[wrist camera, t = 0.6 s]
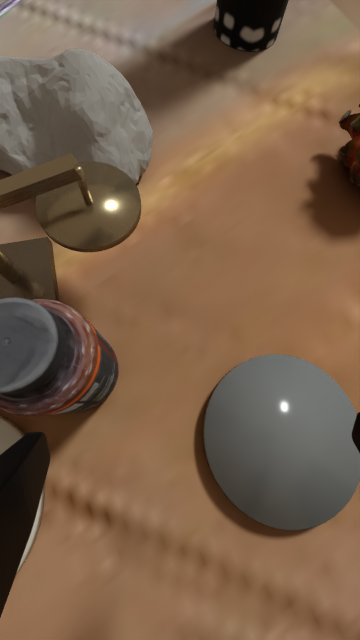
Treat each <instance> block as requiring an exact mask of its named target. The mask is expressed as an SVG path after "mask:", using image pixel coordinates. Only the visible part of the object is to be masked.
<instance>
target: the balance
mask: <svg viewBox="0 0 360 640" xmlns="http://www.w3.org/2000/svg"><path fill="white" fill-rule="evenodd" d="M35 196H36V201H35V211H36V215H37V218H38V221H39V222H40V224H41V226H42V227H43V229H44V231H45V232H46V233H47V235H48V236H49V237H50V238H51V239H52V240H53V241H55V242H56V243H58V244H59V245H61V246H63V247H65V248H68V249H70V250H74V251H79V252H98V251H103V250H106V249H109V248H112V247H114V246H116V245H118V244H120V243H121V242H123V241H124V240H125V239H127V238H128V237H129V236H130V235H131V234H132V233H133V231H134V230H135V228H136V226H137V224H138V222H139V219H140V215H141V200H140V194H139V191H138V188H137V186H136V184H135V183H134V181H133V180H132V179H131V178H130V177H129V176H128V175H127V174H126V173H125V172H124V171H122V170H120V169H119V168H117V167H115V166H113V165H110V164H107V163H102V162H96V161H84V162H78V161H77V160H76V158H75V157H74V156H73V154H72V153H71V154H68V155H65V156H63V157H60V158H57V159H55V160H52V161H49V162H47V163H44V164H41V165H39V166H36V167H33V168H31V169H28V170H25V171H23V172H20V173H17V174H15V175H12V176H9V177H7V178H4V179H1V180H0V209H1V208H4V207H7V206H10V205H13V204H15V203H18V202H21V201H24V200H26V199H29V198H32V197H35ZM14 297H16V298H24V299H29V300H36V299H47V300H54V301H58V302H59V296H58V288H57V280H56V272H55V264H54V255H53V247H52V243H51V241H50V240H49V238H48V237H45V238H39V239H33V240H26V241H20V242H13V243H7V244H1V245H0V299H4V298H14Z"/></svg>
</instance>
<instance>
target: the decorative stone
mask: <svg viewBox="0 0 360 640" xmlns="http://www.w3.org/2000/svg"><path fill="white" fill-rule="evenodd" d="M152 140H153V131H152V128H151V126H150V124H149V121H148V118H147V115H146V113H145V111H144V109H143V107H142V105H141V103H140V101H139V100H138V98H137V96H136V95H135V93H134V91H133V89H132V88H131V86H130V84H129V83H128V81H127V80H126V79H125V78H124V77H123V75H122V74H121V73H120V72H119V71H118V70H117V69H116V68H114V67H113V66H112V65H111V64H110V63H108V62H107V61H105V60H104V59H103V58H101V57H99V56H98V55H97V54H95V53H92V52H90V51H88V50H84V49H70V50H66V51H64V52H63V53H61V54H60V55H57V56H54V57H51V58H23V57H7V56H0V170H3V171H5V172H8V173H10V174H11V175H15V174H17V173H20V172H23V171H25V170H28V169H31V168H33V167H36V166H39V165H41V164H44V163H47V162H49V161H52V160H55V159H57V158H60V157H63V156H65V155H68V154H71V153H72V154H73V156H74V157H75V158H76V160H77V161H78V162H84V161H96V162H102V163H107V164H110V165H113V166H115V167H117V168H119V169H120V170H122V171H124V172H125V173H126V174H127V175H128V176H129V177H130V178H131V179H132V180H133V181H134V183H135V184H136V183H137V182H138V179H139V177H140V176H141V175H142V174H143V173H144V172H145V171H146V168H147V166H148V164H149V161H150V158H151V146H152Z"/></svg>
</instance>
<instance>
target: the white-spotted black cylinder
mask: <svg viewBox="0 0 360 640" xmlns="http://www.w3.org/2000/svg"><path fill="white" fill-rule="evenodd" d="M287 3H288V0H217V4H216V11H215V18H214V31H215V33H216V35H217V36H218V37H219V39H220V40H222V41H223V42H224V43H225V44H227V45H229V46H231V47H233V48H236V49H239V50H244V51H259V50H263V49H266V48H268V47H270V46H271V45H272V44H273V43H274V42H275V40H276V38H277V35H278V31H279V28H280V25H281V22H282V19H283V16H284V12H285V9H286V6H287Z"/></svg>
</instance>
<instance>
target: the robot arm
mask: <svg viewBox="0 0 360 640" xmlns="http://www.w3.org/2000/svg"><path fill="white" fill-rule="evenodd" d="M352 440H353V442H354V444H355V446H356V448H357V449H358V451H359V453H360V412H359V413H358V414H357V416H356V419H355V423H354V426H353V430H352ZM49 463H50V453H49V448H48V444H47V439H46V435H45V433H43V432H31V433H27V434H26V435H24V436H23V437H22V438H20V439H19V440H18V441H17V442H15V443H14V444H13V445H12V446H10V447H9V448H8V449H7V450H5V451H4V452H3V453H2V454H0V617H1V614H2V612H3V609H4V606H5V603H6V601H7V598H8V595H9V592H10V589H11V587H12V584H13V581H14V578H15V576H16V573H17V570H18V567H19V565H20V562H21V559H22V556H23V554H24V551H25V548H26V545H27V542H28V540H29V537H30V534H31V531H32V528H33V525H34V522H35V518H36V514H37V510H38V506H39V503H40V499H41V495H42V491H43V487H44V483H45V479H46V475H47V471H48V467H49Z"/></svg>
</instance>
